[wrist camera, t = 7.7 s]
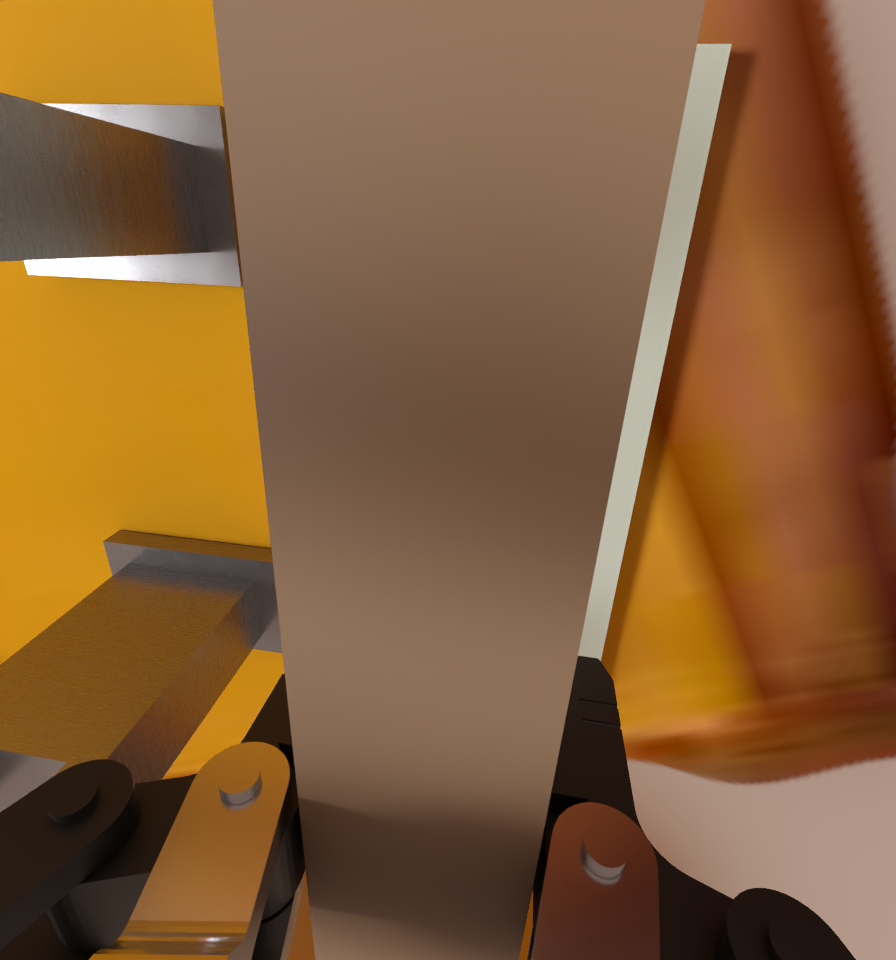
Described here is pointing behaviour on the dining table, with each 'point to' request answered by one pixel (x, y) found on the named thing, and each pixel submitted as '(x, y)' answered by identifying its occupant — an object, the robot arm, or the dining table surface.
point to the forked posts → (132, 555)
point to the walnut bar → (441, 413)
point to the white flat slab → (655, 332)
